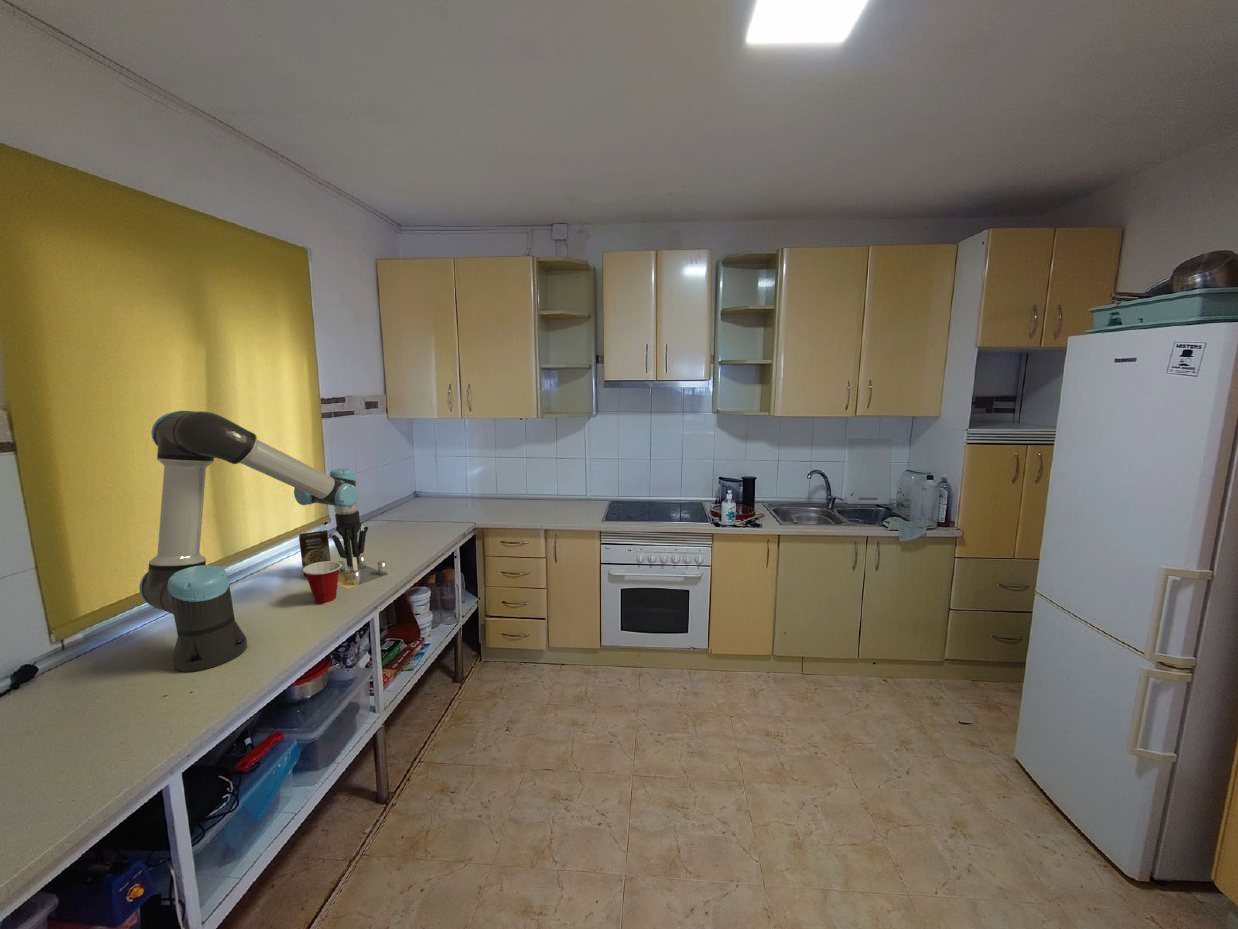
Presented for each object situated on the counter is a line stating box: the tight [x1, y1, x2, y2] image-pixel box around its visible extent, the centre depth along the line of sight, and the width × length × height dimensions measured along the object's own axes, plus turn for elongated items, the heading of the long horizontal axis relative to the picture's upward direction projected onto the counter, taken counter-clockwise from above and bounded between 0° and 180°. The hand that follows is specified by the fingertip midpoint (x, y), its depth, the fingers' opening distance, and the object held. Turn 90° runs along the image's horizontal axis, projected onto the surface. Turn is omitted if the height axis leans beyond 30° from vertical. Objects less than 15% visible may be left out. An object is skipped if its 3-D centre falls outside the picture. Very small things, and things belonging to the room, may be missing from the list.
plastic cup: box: [302, 560, 341, 605], centre depth 160 cm, size 11×11×12 cm
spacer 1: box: [337, 560, 346, 573], centre depth 182 cm, size 3×3×5 cm
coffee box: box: [298, 529, 332, 580], centre depth 182 cm, size 9×6×16 cm
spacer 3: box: [357, 554, 367, 569], centre depth 188 cm, size 3×3×5 cm
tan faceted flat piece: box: [338, 570, 352, 582], centre depth 177 cm, size 5×4×2 cm
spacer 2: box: [351, 570, 362, 586], centre depth 173 cm, size 3×3×5 cm
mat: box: [337, 565, 389, 590], centre depth 180 cm, size 15×17×1 cm
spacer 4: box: [377, 560, 388, 577], centre depth 181 cm, size 3×3×5 cm
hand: (354, 573), depth 179 cm, fingers closed
